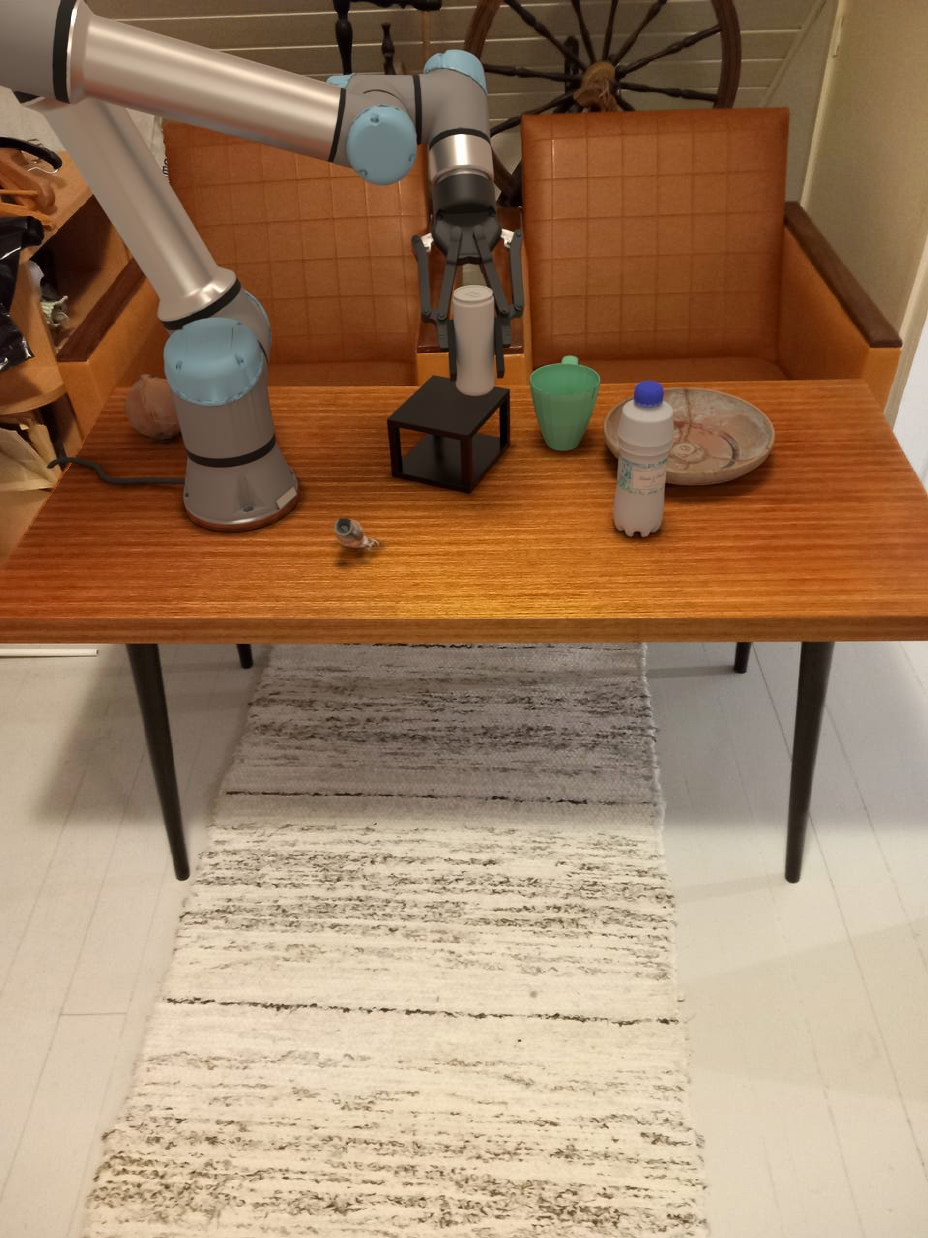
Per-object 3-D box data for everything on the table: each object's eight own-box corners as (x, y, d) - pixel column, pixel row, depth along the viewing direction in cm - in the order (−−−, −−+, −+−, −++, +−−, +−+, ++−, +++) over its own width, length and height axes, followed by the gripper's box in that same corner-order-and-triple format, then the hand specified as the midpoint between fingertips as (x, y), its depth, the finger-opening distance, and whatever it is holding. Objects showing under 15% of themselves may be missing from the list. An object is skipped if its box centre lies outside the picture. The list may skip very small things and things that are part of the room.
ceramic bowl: (566, 452, 141) (567, 421, 138) (682, 401, 151) (685, 371, 148) (686, 523, 126) (691, 490, 123) (805, 462, 137) (812, 430, 133)
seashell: (361, 570, 121) (355, 530, 117) (322, 561, 123) (316, 521, 119) (381, 546, 125) (377, 506, 121) (343, 537, 126) (338, 498, 123)
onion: (153, 443, 153) (127, 380, 150) (209, 425, 151) (183, 361, 149) (130, 453, 144) (102, 386, 141) (188, 434, 143) (161, 366, 140)
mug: (594, 461, 139) (598, 396, 132) (525, 457, 140) (525, 393, 134) (600, 411, 150) (604, 349, 143) (536, 408, 151) (537, 347, 145)
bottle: (622, 546, 123) (634, 400, 110) (602, 517, 128) (612, 374, 115) (671, 536, 124) (690, 391, 111) (650, 508, 129) (665, 366, 116)
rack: (391, 476, 137) (386, 418, 132) (436, 430, 147) (433, 374, 141) (470, 494, 133) (468, 435, 127) (510, 445, 143) (510, 388, 137)
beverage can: (473, 375, 124) (470, 281, 116) (503, 386, 121) (502, 290, 113) (447, 389, 121) (443, 294, 113) (478, 401, 118) (475, 304, 111)
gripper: (534, 198, 122) (549, 381, 120) (389, 206, 121) (402, 390, 119) (540, 165, 114) (556, 360, 112) (386, 173, 114) (400, 369, 112)
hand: (477, 375), depth 116 cm, fingers closed on beverage can, 5 cm apart
